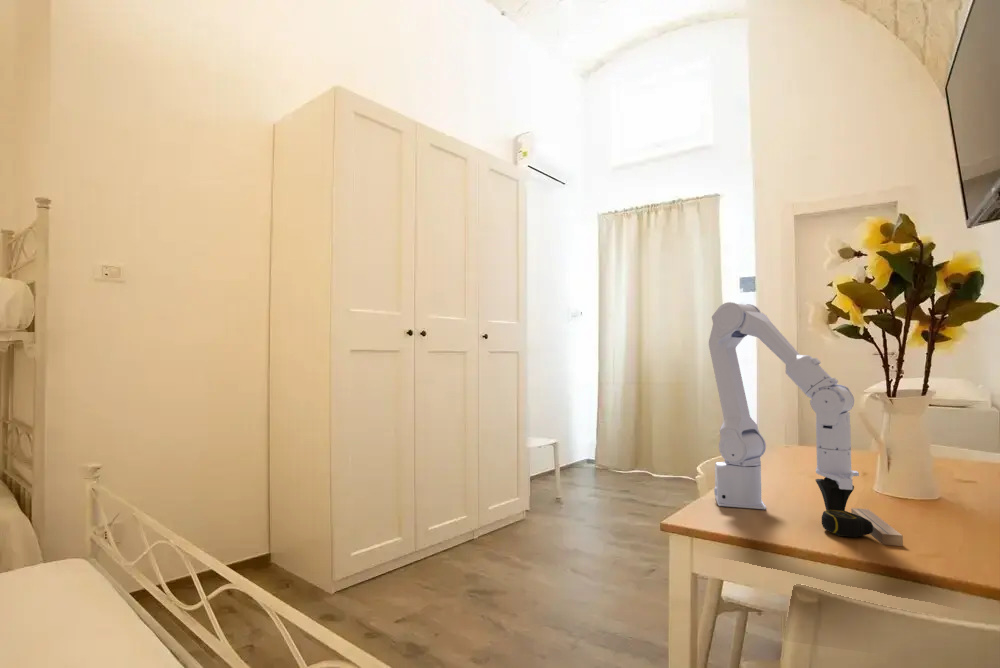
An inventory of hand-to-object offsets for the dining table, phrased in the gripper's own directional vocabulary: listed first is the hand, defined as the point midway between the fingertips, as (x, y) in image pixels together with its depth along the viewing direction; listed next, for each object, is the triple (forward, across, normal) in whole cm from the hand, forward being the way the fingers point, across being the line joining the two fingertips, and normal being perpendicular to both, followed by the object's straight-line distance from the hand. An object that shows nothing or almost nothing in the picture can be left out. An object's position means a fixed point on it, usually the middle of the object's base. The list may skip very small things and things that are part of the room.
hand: (835, 518), depth 103 cm
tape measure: (+2, -5, 0) cm, 5 cm away
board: (+1, -2, -6) cm, 6 cm away
